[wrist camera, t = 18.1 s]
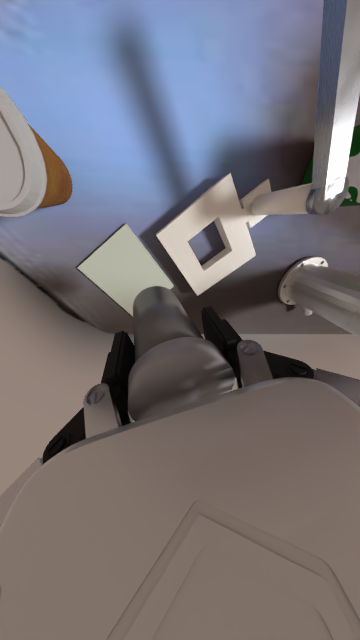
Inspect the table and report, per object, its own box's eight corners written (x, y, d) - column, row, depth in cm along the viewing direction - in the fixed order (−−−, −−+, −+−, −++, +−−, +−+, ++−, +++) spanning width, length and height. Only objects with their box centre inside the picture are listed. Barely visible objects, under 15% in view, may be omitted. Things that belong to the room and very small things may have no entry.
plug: (175, 275, 15) (236, 340, 7) (185, 320, 18) (233, 402, 10) (119, 291, 14) (104, 389, 6) (139, 335, 18) (149, 438, 9)
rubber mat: (173, 285, 33) (174, 286, 32) (133, 315, 35) (132, 316, 35) (126, 223, 25) (126, 223, 25) (78, 266, 28) (77, 267, 27)
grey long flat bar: (330, 205, 18) (345, 204, 17) (304, 219, 18) (317, 219, 17) (386, -217, 7) (442, -318, 6) (324, -166, 8) (362, -249, 6)
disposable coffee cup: (33, 100, 17) (-113, -55, 7) (99, 193, 23) (64, 174, 13) (-19, 155, 19) (-198, 87, 9) (54, 231, 24) (-8, 239, 14)
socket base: (275, 232, 31) (335, 238, 21) (193, 290, 35) (212, 318, 25) (258, 146, 23) (340, 93, 13) (155, 234, 27) (160, 242, 17)
